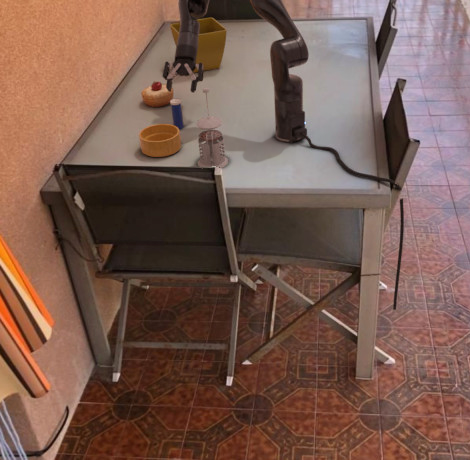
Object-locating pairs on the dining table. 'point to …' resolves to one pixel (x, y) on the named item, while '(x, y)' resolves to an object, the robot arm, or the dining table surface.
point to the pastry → (157, 95)
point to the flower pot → (207, 42)
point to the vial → (177, 113)
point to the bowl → (160, 140)
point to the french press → (210, 141)
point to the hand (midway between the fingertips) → (180, 91)
